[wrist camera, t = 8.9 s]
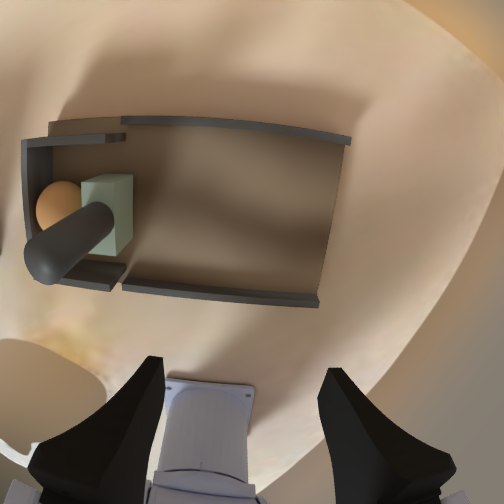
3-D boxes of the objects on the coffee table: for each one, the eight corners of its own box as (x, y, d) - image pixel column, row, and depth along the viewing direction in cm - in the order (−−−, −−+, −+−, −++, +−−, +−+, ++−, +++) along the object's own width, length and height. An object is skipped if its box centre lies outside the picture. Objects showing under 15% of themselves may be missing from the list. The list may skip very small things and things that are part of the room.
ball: (54, 226, 18) (97, 228, 18) (29, 244, 15) (75, 248, 15) (51, 176, 17) (96, 176, 17) (23, 187, 13) (71, 186, 14)
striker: (133, 237, 18) (70, 310, 10) (105, 235, 18) (33, 302, 10) (133, 174, 17) (56, 211, 9) (103, 173, 17) (17, 209, 9)
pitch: (312, 293, 22) (325, 325, 18) (62, 268, 20) (36, 292, 17) (340, 136, 18) (364, 138, 14) (56, 121, 16) (22, 123, 12)
